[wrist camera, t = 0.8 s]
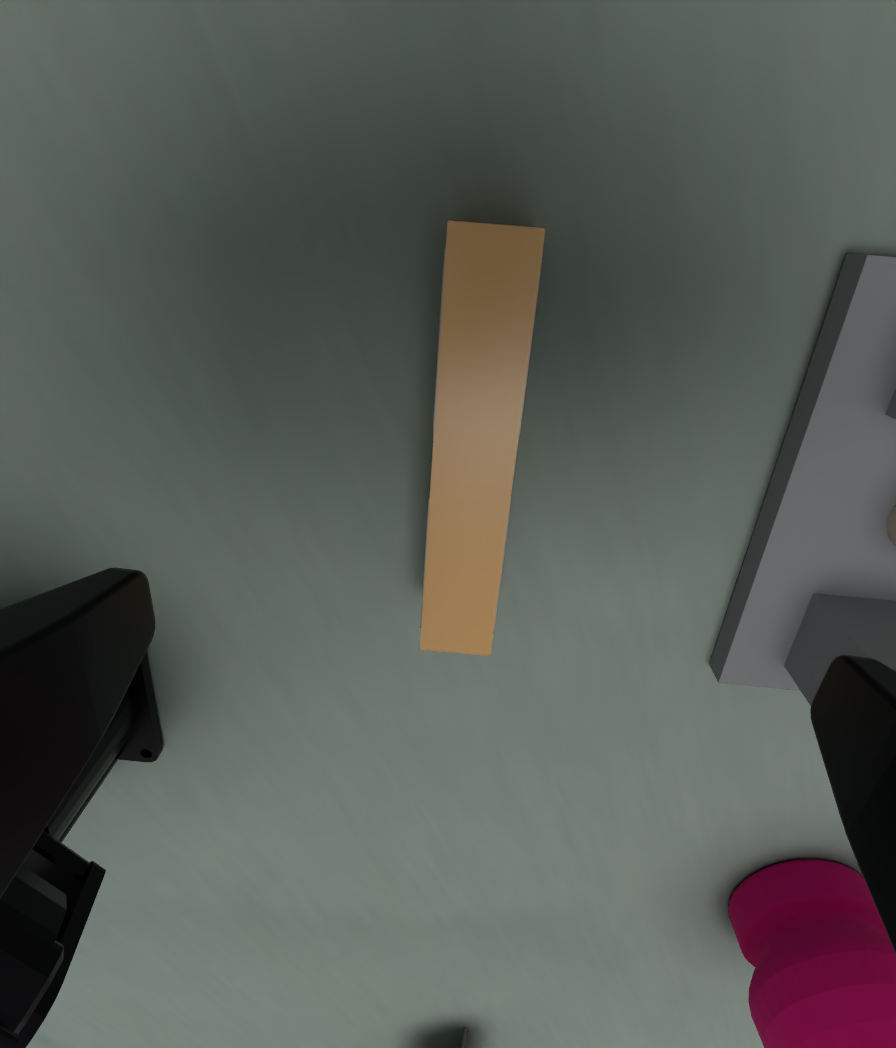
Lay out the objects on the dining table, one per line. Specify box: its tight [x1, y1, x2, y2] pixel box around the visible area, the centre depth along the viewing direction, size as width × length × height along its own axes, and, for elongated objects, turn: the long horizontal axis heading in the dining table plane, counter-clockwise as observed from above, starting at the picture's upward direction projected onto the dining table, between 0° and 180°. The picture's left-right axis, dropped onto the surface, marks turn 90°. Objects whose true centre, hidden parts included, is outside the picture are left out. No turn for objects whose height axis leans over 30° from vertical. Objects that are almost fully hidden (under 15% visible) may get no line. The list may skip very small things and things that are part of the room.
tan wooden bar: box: [420, 220, 545, 656], centre depth 18 cm, size 12×2×4 cm, turn 176°
